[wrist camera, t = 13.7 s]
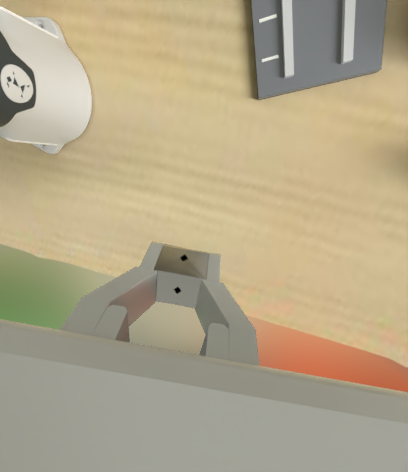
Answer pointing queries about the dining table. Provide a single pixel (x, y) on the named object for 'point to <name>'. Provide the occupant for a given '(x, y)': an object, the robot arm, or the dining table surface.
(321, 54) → the grey slider track base
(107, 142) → the dining table surface
